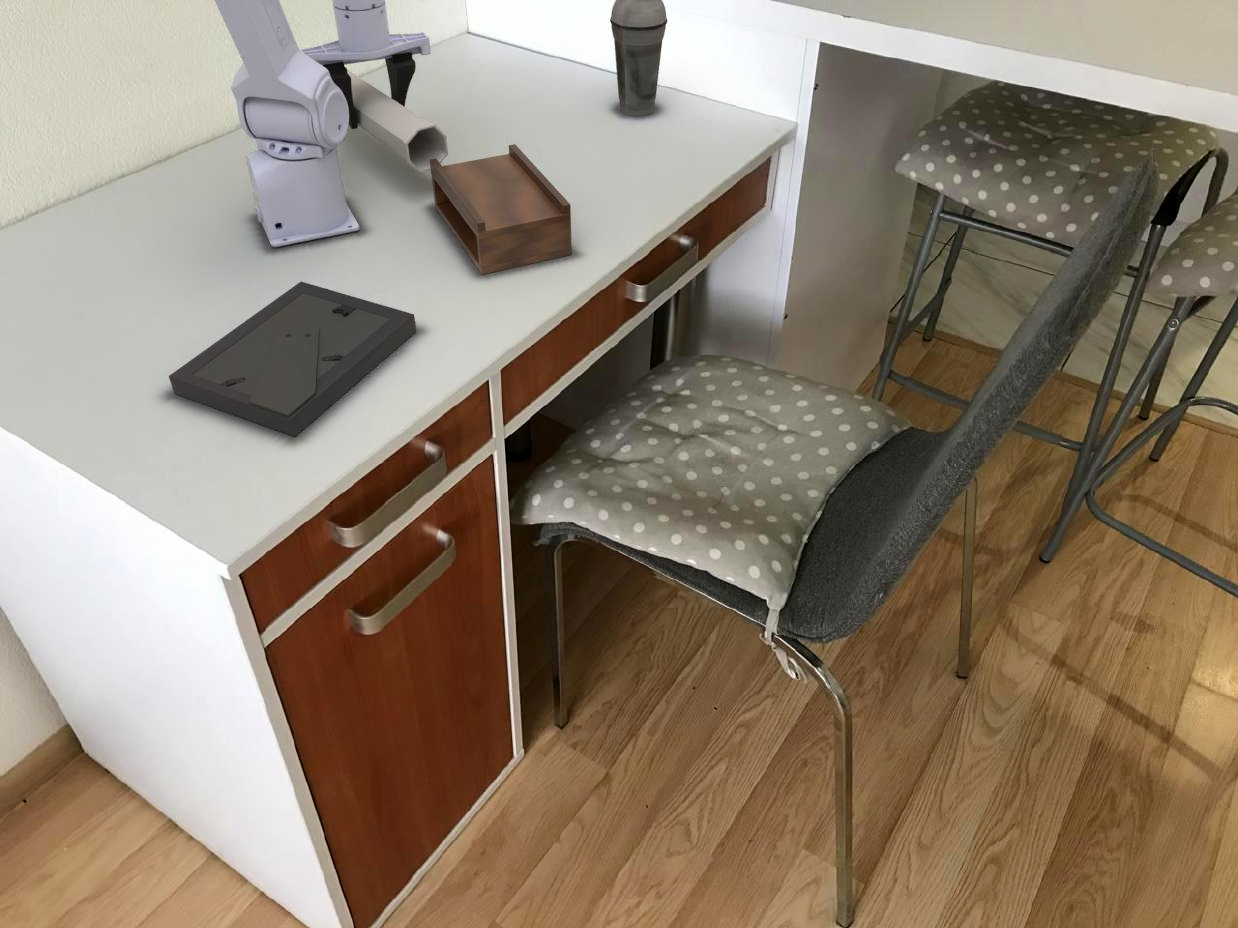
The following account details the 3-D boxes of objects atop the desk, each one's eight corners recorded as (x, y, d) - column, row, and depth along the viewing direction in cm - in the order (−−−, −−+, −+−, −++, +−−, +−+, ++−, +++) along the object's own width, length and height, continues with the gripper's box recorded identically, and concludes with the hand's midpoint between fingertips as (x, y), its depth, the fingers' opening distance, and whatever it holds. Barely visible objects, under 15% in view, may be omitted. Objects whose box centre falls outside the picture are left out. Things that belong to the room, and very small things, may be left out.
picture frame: (295, 437, 88) (416, 331, 100) (289, 416, 86) (413, 311, 99) (173, 394, 92) (304, 297, 104) (166, 373, 91) (300, 278, 103)
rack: (482, 274, 108) (477, 223, 104) (434, 208, 119) (429, 159, 115) (571, 254, 111) (570, 204, 107) (518, 191, 122) (515, 144, 118)
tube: (303, 75, 130) (398, 141, 115) (339, 53, 131) (437, 116, 116) (323, 112, 134) (417, 181, 119) (358, 90, 135) (455, 156, 120)
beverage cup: (602, 102, 142) (602, -58, 129) (653, 96, 144) (658, -62, 131) (619, 123, 137) (620, -41, 124) (671, 117, 139) (678, -46, 126)
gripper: (412, -15, 122) (425, 100, 131) (285, 1, 117) (308, 119, 126) (430, 3, 117) (442, 121, 126) (299, 20, 112) (321, 142, 121)
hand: (376, 122), depth 125 cm, fingers closed on tube, 5 cm apart
